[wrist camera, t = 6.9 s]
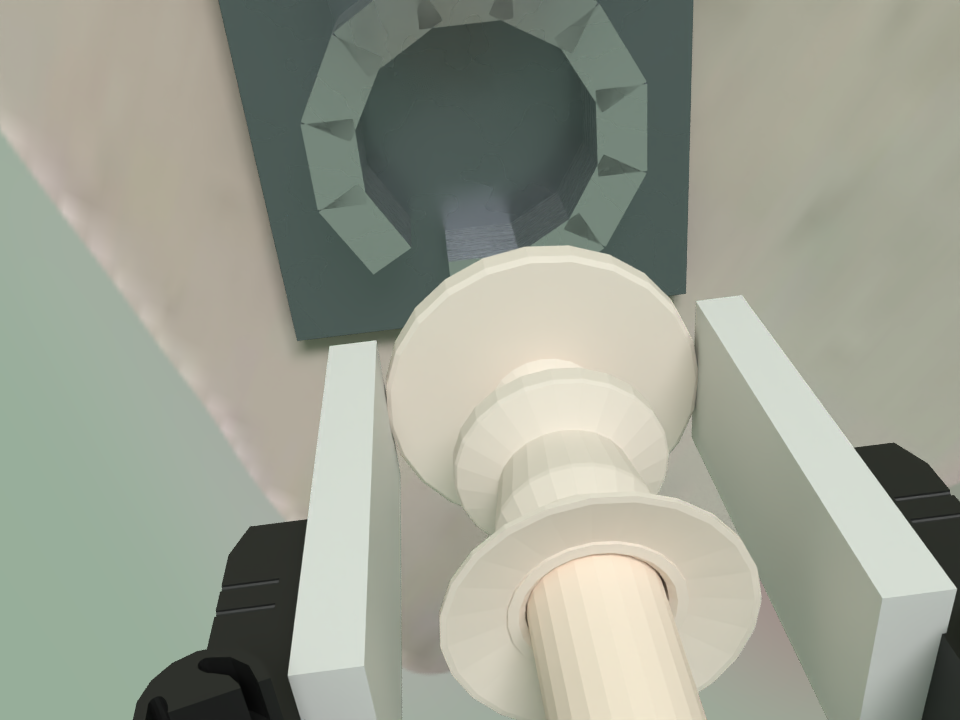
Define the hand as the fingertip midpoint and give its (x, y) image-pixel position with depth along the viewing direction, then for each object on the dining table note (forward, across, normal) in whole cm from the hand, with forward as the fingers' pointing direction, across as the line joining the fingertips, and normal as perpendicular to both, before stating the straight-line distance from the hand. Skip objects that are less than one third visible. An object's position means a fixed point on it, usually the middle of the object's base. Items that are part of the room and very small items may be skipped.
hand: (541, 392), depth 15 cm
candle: (0, 0, 0) cm, 0 cm away
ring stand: (+17, 0, 0) cm, 17 cm away
